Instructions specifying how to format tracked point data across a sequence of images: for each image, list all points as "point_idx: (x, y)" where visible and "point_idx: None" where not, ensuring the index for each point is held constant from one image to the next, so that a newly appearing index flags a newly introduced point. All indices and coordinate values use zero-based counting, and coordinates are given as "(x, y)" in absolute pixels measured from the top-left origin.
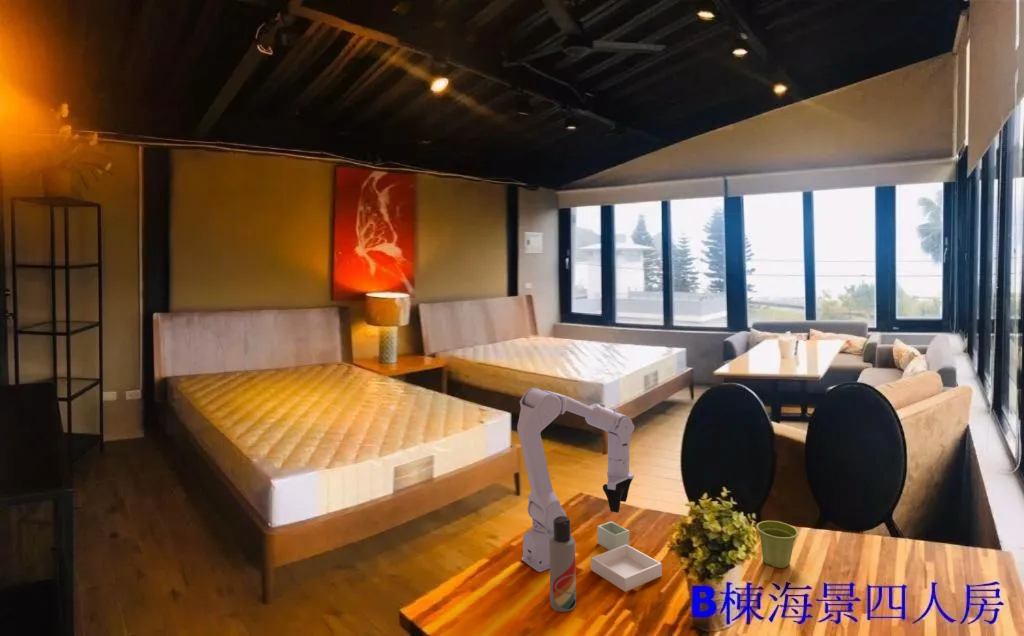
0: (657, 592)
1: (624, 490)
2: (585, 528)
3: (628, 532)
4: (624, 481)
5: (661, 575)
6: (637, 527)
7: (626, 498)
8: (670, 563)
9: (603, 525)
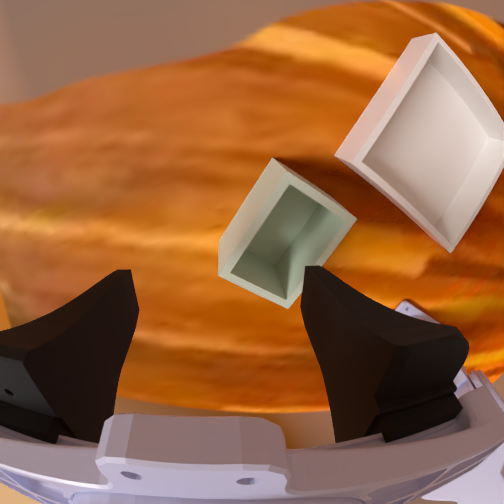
0: (476, 60)
1: (103, 325)
2: (188, 331)
3: (290, 172)
4: (76, 383)
5: (412, 39)
6: (88, 181)
7: (120, 276)
8: (329, 8)
9: (270, 291)
